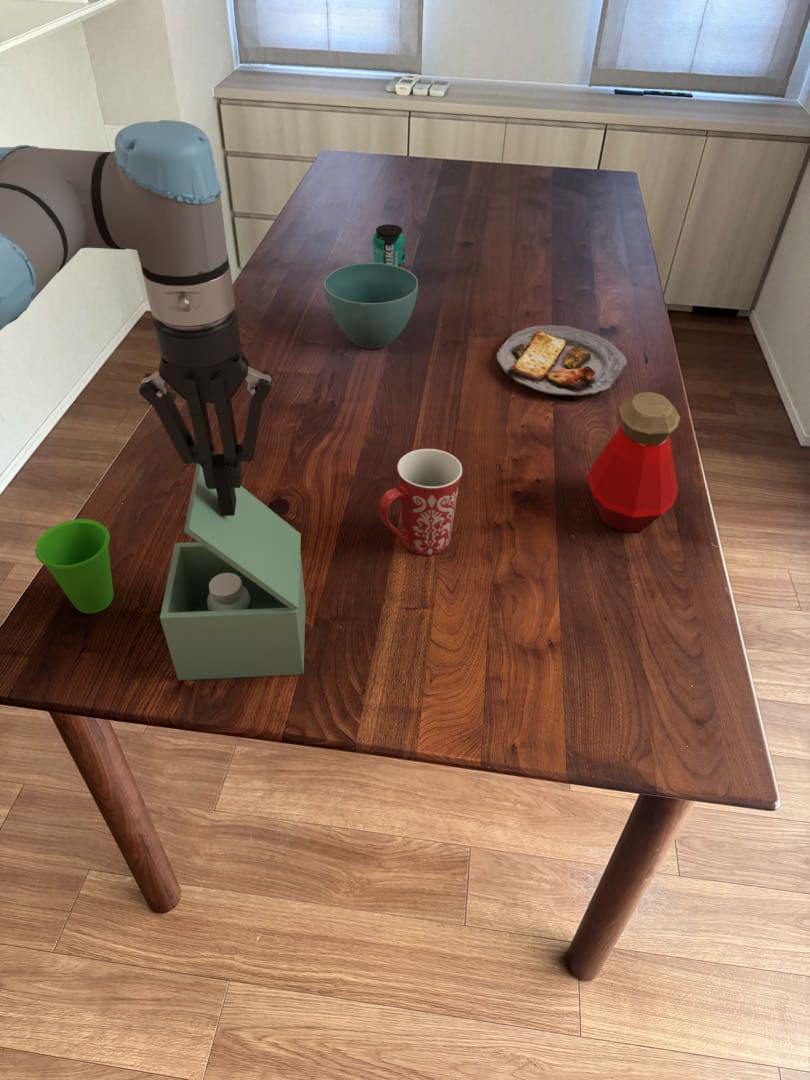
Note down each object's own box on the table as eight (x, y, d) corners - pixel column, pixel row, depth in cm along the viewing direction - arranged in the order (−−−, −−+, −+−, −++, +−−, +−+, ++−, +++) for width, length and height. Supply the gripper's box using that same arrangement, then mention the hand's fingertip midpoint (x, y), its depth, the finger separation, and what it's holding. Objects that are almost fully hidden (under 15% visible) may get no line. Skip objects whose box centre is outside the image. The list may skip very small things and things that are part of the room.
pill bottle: (262, 623, 105) (254, 572, 98) (247, 654, 101) (238, 603, 94) (224, 616, 106) (213, 565, 99) (208, 646, 102) (195, 595, 95)
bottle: (671, 553, 117) (709, 443, 103) (579, 540, 119) (604, 431, 105) (665, 487, 128) (699, 380, 115) (581, 476, 130) (604, 369, 116)
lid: (183, 531, 82) (188, 528, 82) (197, 457, 91) (202, 454, 91) (293, 611, 92) (298, 608, 91) (296, 537, 101) (301, 534, 101)
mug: (434, 511, 123) (437, 440, 114) (468, 545, 118) (475, 473, 108) (364, 540, 118) (362, 469, 109) (396, 577, 113) (397, 505, 103)
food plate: (593, 417, 143) (597, 400, 140) (477, 381, 151) (478, 364, 149) (636, 356, 159) (640, 340, 156) (529, 326, 167) (531, 310, 164)
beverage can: (409, 278, 182) (410, 226, 174) (396, 291, 178) (397, 238, 170) (381, 272, 184) (381, 220, 176) (368, 284, 180) (367, 232, 172)
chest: (178, 680, 99) (159, 618, 91) (190, 605, 108) (174, 542, 100) (303, 674, 100) (296, 612, 92) (305, 600, 109) (299, 538, 101)
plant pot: (309, 336, 162) (305, 279, 154) (376, 309, 171) (376, 254, 163) (366, 372, 153) (365, 313, 144) (434, 341, 162) (437, 284, 153)
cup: (54, 629, 105) (28, 570, 97) (65, 580, 111) (41, 521, 104) (125, 621, 106) (104, 563, 98) (131, 573, 112) (112, 515, 105)
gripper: (113, 334, 69) (164, 532, 85) (263, 331, 70) (286, 528, 86) (129, 294, 75) (174, 488, 91) (268, 292, 76) (288, 484, 92)
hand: (228, 507), depth 89 cm, fingers closed
